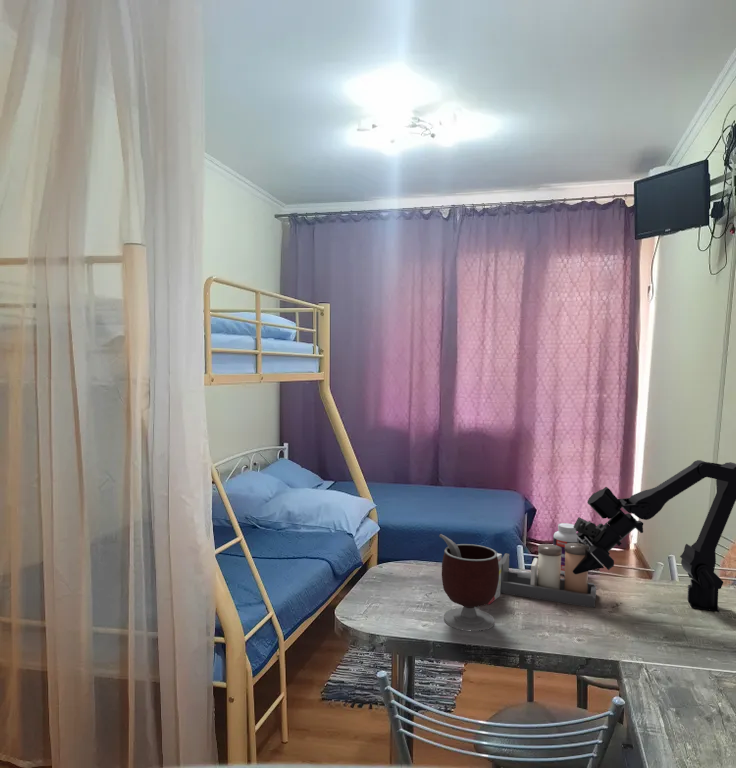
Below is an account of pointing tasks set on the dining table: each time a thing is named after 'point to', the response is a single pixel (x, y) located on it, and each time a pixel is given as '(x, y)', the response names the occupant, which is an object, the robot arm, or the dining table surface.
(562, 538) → the pill bottle
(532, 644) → the dining table surface
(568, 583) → the terracotta jar
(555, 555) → the cream jar
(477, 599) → the mate gourd
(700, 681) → the dining table surface
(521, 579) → the grey jar rack
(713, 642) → the dining table surface
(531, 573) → the pusher
